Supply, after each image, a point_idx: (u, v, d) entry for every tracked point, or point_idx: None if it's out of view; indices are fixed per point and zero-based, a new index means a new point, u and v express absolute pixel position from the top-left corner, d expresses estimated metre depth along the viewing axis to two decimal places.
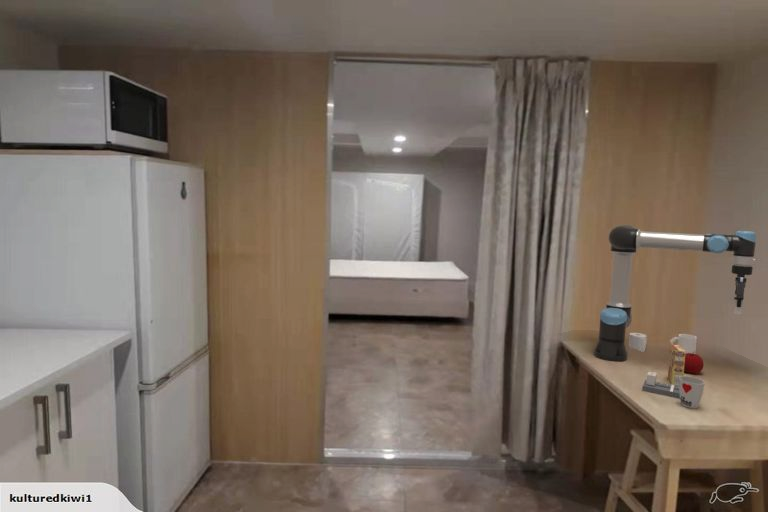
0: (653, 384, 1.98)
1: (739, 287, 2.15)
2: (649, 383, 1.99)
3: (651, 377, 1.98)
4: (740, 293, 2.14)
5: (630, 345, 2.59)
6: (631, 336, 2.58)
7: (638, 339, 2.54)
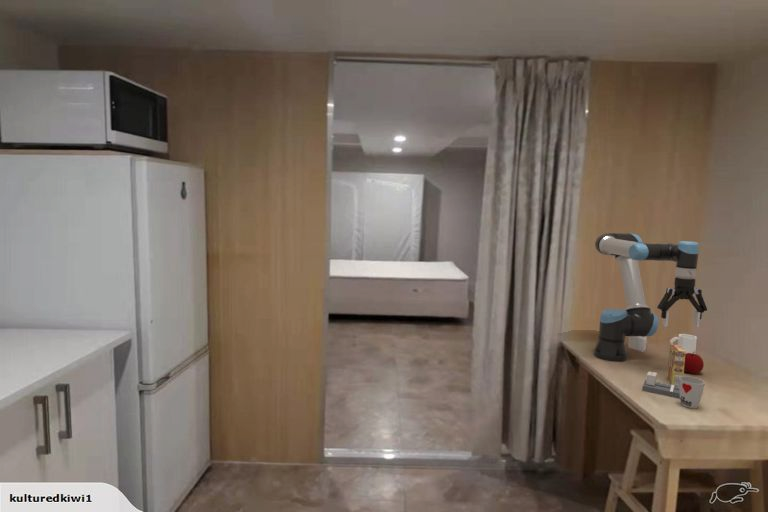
0: (653, 384, 1.98)
1: (663, 297, 2.10)
2: (649, 383, 1.99)
3: (651, 377, 1.98)
4: (661, 303, 2.09)
5: (630, 345, 2.59)
6: (631, 336, 2.58)
7: (638, 339, 2.54)
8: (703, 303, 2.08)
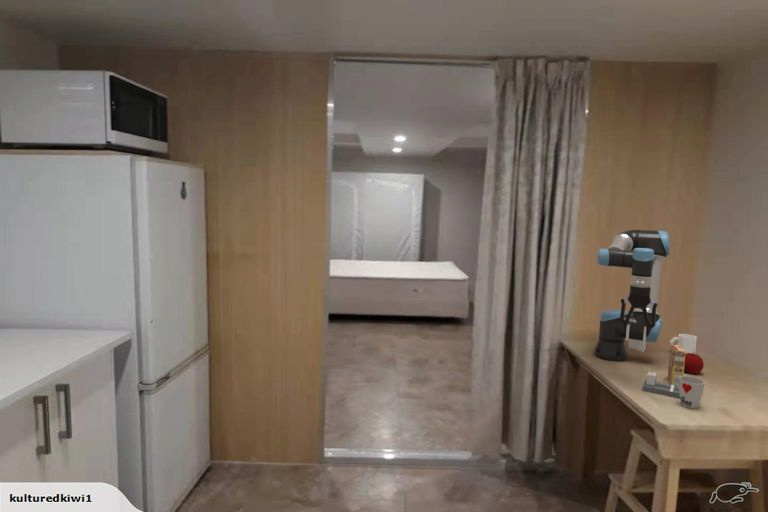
0: (653, 384, 1.98)
1: None
2: (649, 383, 1.99)
3: (651, 377, 1.98)
4: None
5: (630, 345, 2.59)
6: None
7: None
8: (653, 318, 1.97)
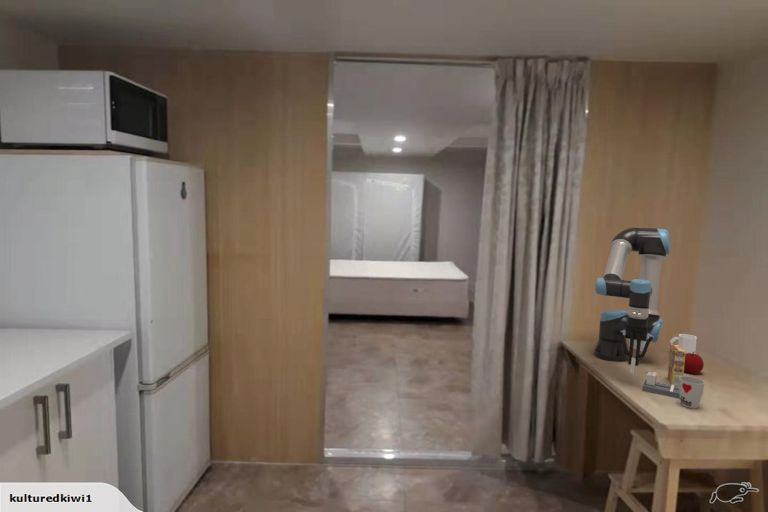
0: (653, 384, 1.98)
1: None
2: (649, 383, 1.99)
3: (651, 377, 1.98)
4: None
5: None
6: None
7: None
8: (644, 350, 2.00)
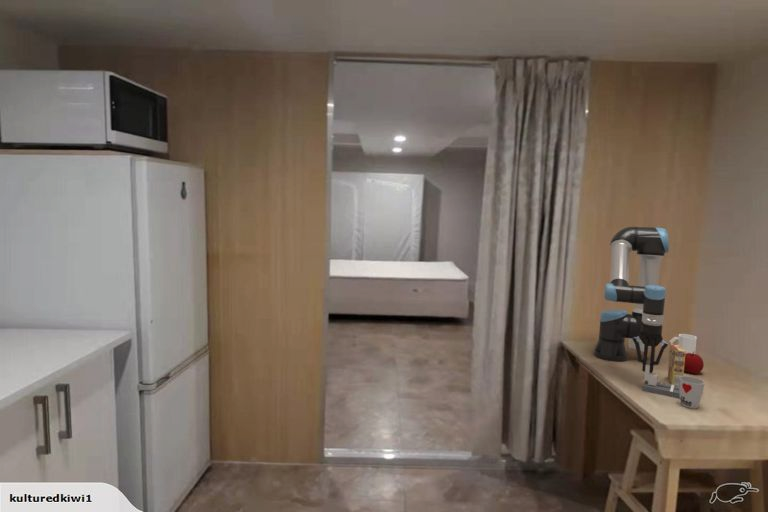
0: (655, 384, 1.97)
1: None
2: (651, 383, 1.98)
3: (653, 377, 1.98)
4: None
5: (630, 345, 2.59)
6: None
7: None
8: (659, 357, 1.97)
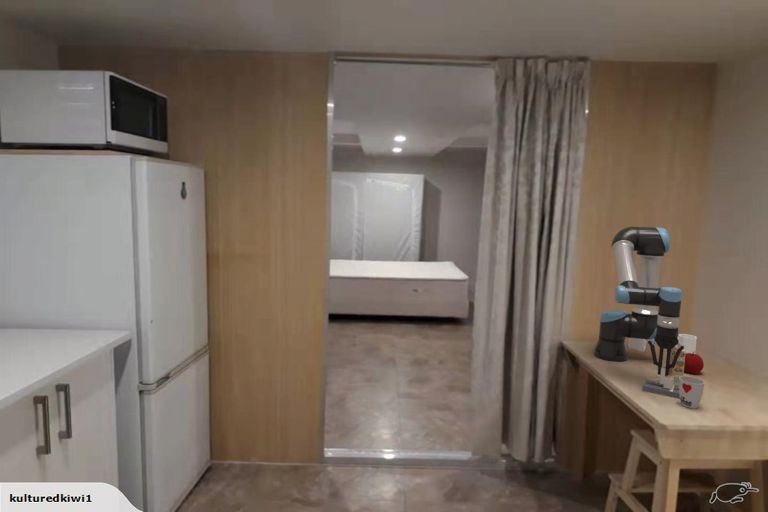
0: (670, 388, 1.94)
1: None
2: (666, 387, 1.95)
3: (668, 380, 1.95)
4: None
5: (630, 345, 2.59)
6: None
7: (638, 339, 2.54)
8: (675, 360, 1.94)
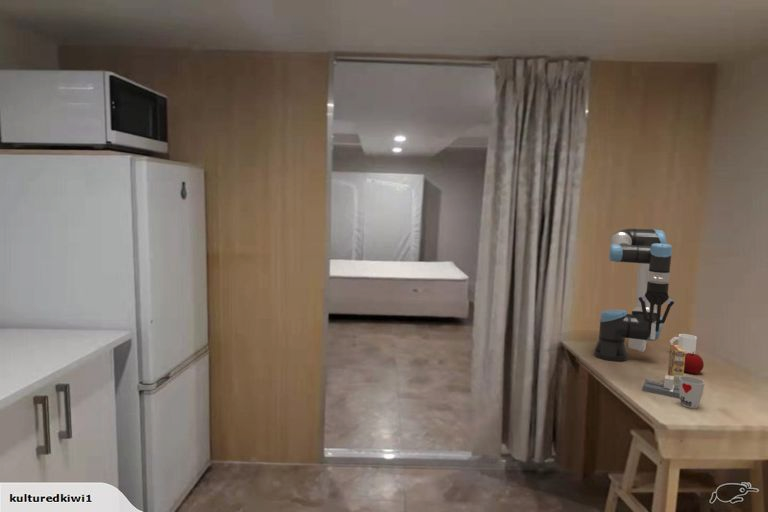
0: (671, 388, 1.94)
1: None
2: (666, 387, 1.95)
3: (669, 381, 1.95)
4: None
5: (630, 345, 2.59)
6: None
7: (638, 339, 2.54)
8: (665, 315, 1.96)
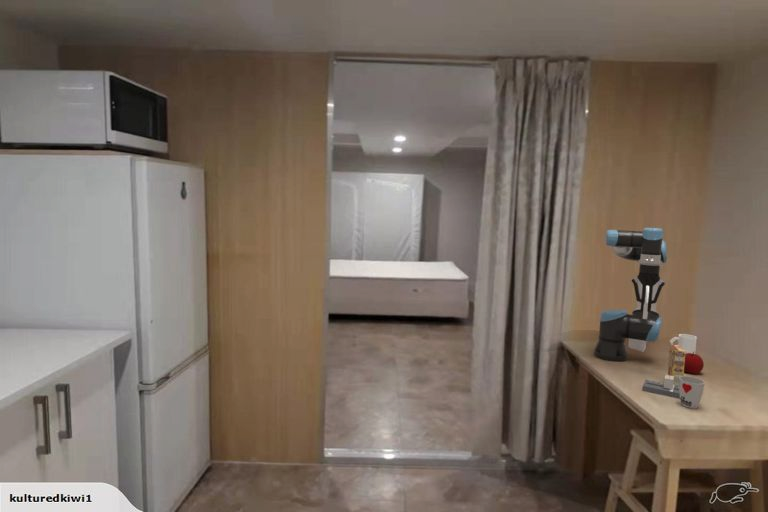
0: (671, 388, 1.94)
1: None
2: (666, 387, 1.95)
3: (669, 381, 1.95)
4: (636, 295, 2.12)
5: (630, 345, 2.59)
6: None
7: None
8: (656, 295, 2.06)
